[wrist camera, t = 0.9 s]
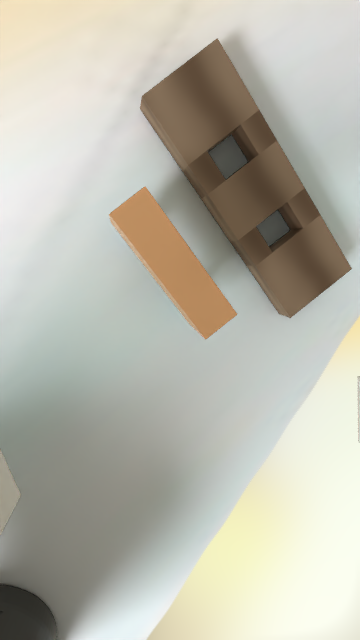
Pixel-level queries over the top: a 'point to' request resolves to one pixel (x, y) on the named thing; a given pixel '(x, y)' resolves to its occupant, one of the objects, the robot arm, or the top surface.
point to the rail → (244, 178)
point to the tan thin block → (172, 263)
